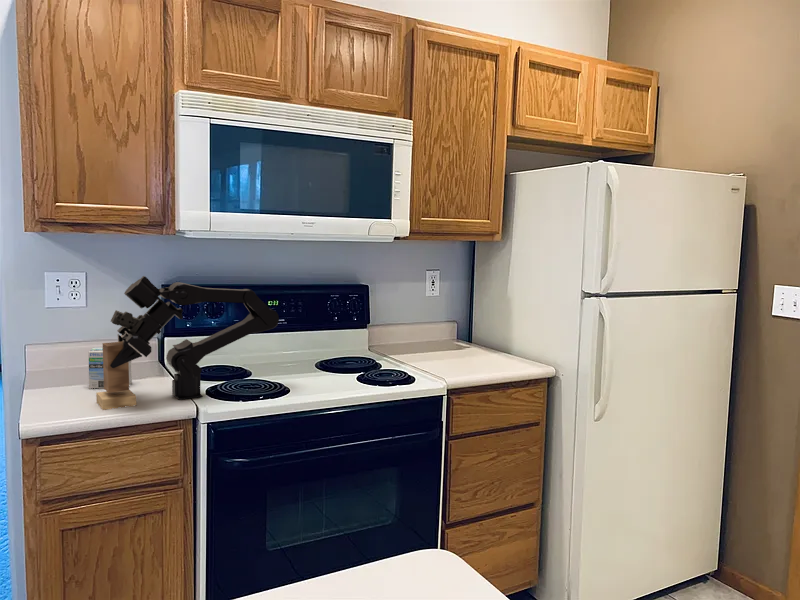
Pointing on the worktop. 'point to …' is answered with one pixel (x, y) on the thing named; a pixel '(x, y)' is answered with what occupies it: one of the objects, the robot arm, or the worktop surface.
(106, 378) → the walnut block
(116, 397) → the oak block
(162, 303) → the robot arm
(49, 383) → the worktop surface
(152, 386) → the worktop surface
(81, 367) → the worktop surface
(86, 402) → the worktop surface
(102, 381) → the light bulb box
